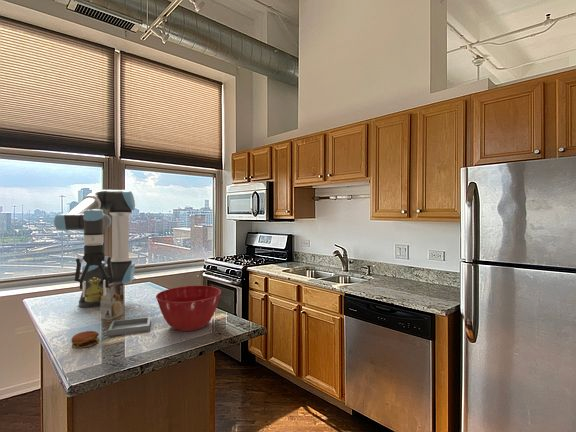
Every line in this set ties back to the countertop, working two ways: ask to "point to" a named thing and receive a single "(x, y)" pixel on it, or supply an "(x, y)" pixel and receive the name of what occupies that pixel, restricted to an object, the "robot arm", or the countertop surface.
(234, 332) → the countertop surface
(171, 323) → the mixing bowl
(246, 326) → the countertop surface
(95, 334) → the burger
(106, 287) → the robot arm
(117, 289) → the coffee box
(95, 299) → the brass door knob
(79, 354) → the countertop surface
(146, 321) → the tray
